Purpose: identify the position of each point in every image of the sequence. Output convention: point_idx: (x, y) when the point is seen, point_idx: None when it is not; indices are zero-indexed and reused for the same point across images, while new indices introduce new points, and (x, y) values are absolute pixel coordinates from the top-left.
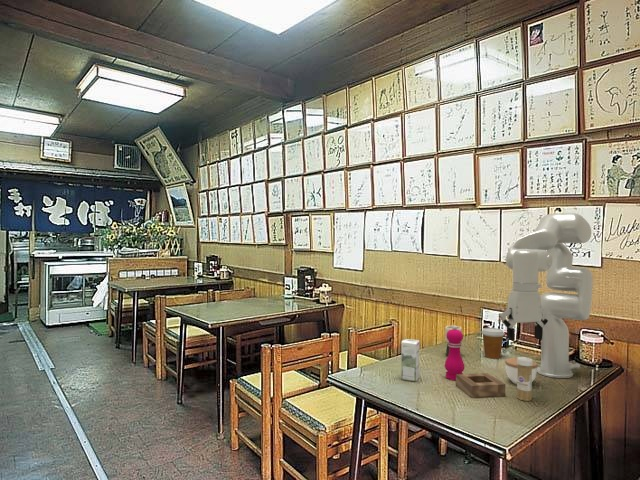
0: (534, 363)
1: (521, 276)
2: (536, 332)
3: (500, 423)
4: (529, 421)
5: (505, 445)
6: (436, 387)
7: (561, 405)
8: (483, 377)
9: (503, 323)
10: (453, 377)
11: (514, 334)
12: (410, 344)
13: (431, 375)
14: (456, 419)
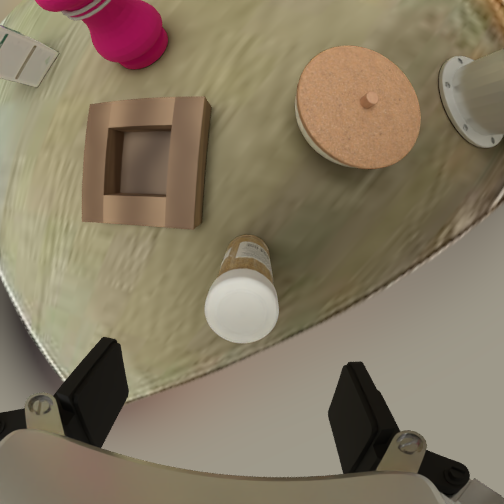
0: (401, 147)
1: None
2: (348, 416)
3: None
4: (170, 371)
5: None
6: (57, 126)
7: (318, 317)
8: (170, 126)
9: (7, 413)
10: (122, 64)
11: (113, 421)
12: None
13: None
14: (43, 318)
